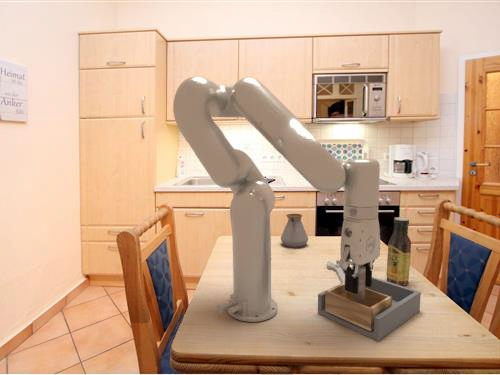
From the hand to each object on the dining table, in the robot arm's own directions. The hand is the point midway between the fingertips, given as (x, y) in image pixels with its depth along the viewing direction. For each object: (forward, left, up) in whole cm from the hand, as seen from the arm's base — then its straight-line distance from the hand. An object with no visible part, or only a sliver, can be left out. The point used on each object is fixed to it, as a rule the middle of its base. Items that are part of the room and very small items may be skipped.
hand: (358, 287), depth 79 cm
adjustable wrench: (+19, +18, -9) cm, 28 cm away
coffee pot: (+30, +48, -8) cm, 58 cm away
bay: (+5, 0, -8) cm, 9 cm away
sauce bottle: (+28, +4, -8) cm, 30 cm away
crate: (0, 0, -7) cm, 7 cm away
